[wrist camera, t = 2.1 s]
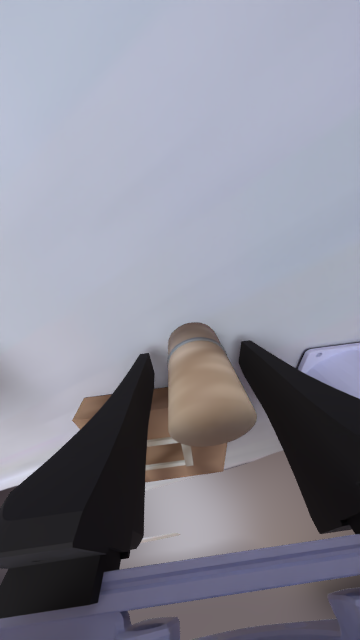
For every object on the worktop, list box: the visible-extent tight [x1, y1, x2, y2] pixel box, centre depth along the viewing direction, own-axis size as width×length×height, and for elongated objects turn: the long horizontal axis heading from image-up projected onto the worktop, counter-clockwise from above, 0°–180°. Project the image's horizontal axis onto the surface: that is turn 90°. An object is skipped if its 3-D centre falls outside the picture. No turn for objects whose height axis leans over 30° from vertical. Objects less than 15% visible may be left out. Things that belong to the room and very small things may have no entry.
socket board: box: [72, 387, 227, 482], centre depth 17 cm, size 14×18×2 cm
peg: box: [168, 323, 257, 447], centre depth 9 cm, size 4×4×6 cm
